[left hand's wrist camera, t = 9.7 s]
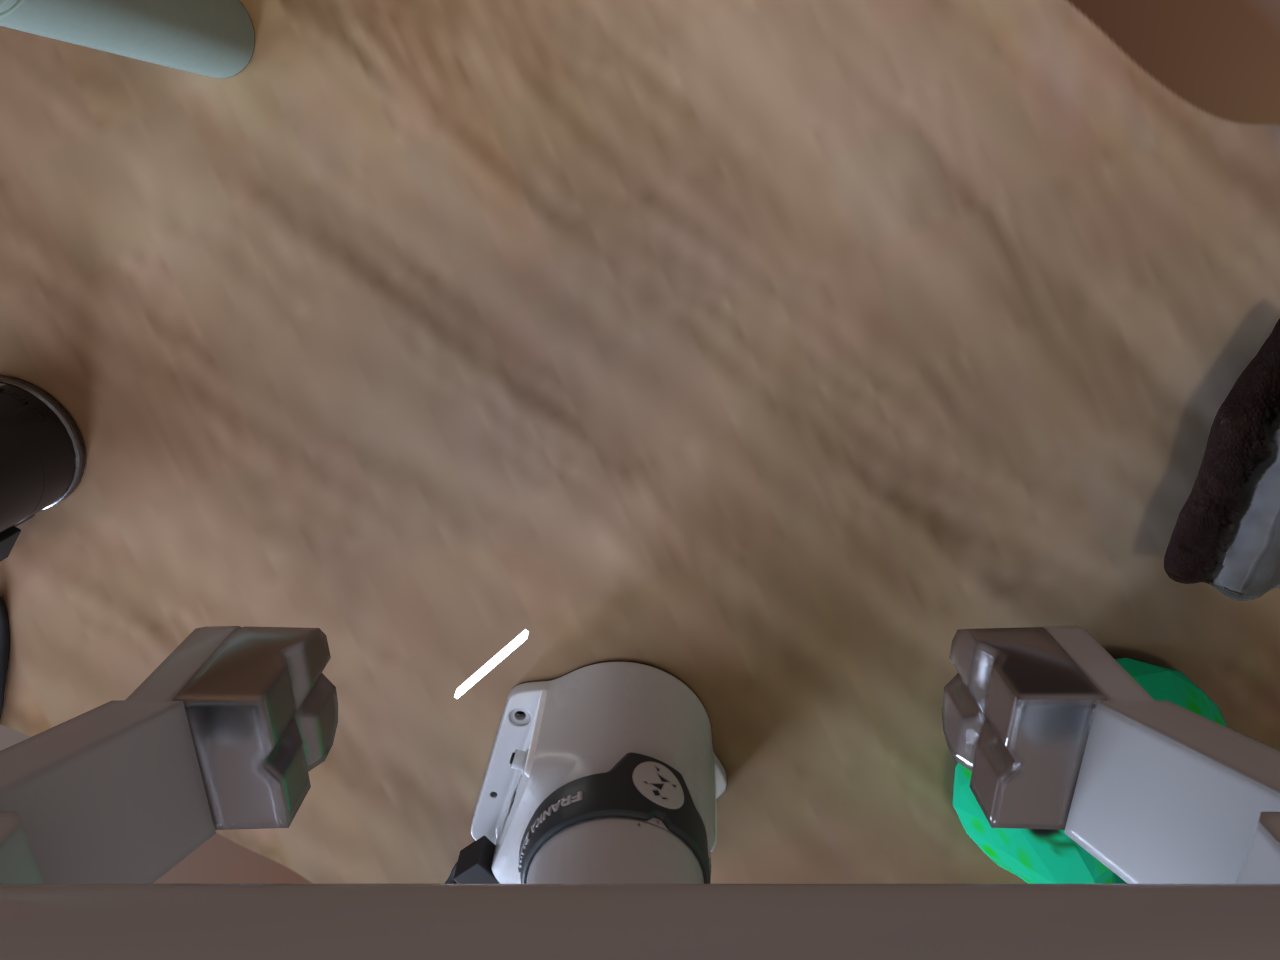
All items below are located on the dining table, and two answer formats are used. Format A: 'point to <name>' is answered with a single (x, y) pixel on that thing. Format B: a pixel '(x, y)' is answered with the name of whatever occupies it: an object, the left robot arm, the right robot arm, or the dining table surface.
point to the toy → (1052, 850)
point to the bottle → (145, 30)
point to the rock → (1237, 491)
